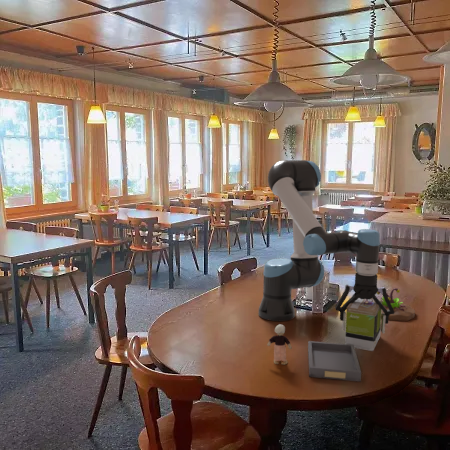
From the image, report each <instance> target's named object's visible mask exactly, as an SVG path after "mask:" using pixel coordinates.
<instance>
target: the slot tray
mask: <svg viewBox="0 0 450 450" xmlns="http://www.w3.org/2000/svg"><path fill="white" fill-rule="evenodd" d="M307 343H308V345H307V349H308V350H307V354H308V356H307V357H308V377H309V378H319V379H328V380H339V381H340V380H341V381H351V382H361V381H362V380H361V379H362V370H361V367H360V363H359V359H358V356H357V353H356V348H354V345H352V344H345V343H338V342H337V343H336V342H325V341H313V340H308V342H307Z"/></svg>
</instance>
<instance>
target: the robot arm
mask: <svg viewBox="0 0 450 450" xmlns="http://www.w3.org/2000/svg"><path fill="white" fill-rule="evenodd" d="M321 181H322V174H321V170H320V168H319V165H317V164H316V162H314V161H312V160H306V159H302V160H301V159H299V160H296V159H295V160H286V159H282V160H278V161H277V162H275V163H273V165H271V167H270V169H269V171H268V173H267V182H268V183H267V185H268V186H269V189H270V190H271V192H272V194H273V195H274V196H277V197H278V199H279V200H280V201H281V203H282V204H283V206H284V208H285V210H286V211H287V212H288V214H289V216H291V219H292V236H293V237H292V239H293V253H292V254H291V255H290V258H286V257H285V258H284V257H282V258H272V259H270V260H268V261H266V262H265V264H264V267H263V274H262V275H263V285H262V286H263V287H262V288H263V291H262V293H263V296H262V298H261V301H260V304H259V307H258V316H259V317H260V318H262V319H264V320H268V321H270V322H271V321H273V322H285V321H291V320H293V319H294V318H295V316H296V311H295V307H294V303H293V300H292V290H297V289H305V288H312V287H316V286H318V285H320V284H321V282H322V281H323V279H324V277H325V267H324V264H323V261H321V259H319V256H323V255H330V254H341V253H351V254H354V255H356V258H355V275H354V284H353V285H349V284H346V285H345V288H344V291H343V293H342V294H341V296H340V297H339V299H338V301H337V302H336V304H335V306H334V308H335V311H338V312H339V321H340V322H341V321H342V327H341V328H342V331H344V332H346V311H347V307H348V305H349V304H350V303H354V302H355V301H356V300H357V299H358V298H360V299H368V300H370V299H372V298H373V300H374V301H375V302H376V303H377V304H378V305H379V307H380V308H381V309H382V311H383V312H384V313H385V314H384V313H382V318H381V332H380V333H382V334H385V333H386V330H385V329H386V325H388V324H389V320H388V319H389V315H390V314H394V313H395V312H394V310H393V308H392V305H391V303H390V301H389V299H388V297H387V295H386V293H387V288H386V287H385V286H381V287H378V273H379V258H380V257H379V253H380V246H381V241H380V240H381V238H380V237H381V236H380V232H379V231H378V230H375V229H369V228H363V229H359V230H358V231H357V232H353V231H349V230H346V229H345V230H341V229H339V230H336V231H335V232H326V231H325V229H324V228H323V226H322V225H321V223H320V221H319V220H318V219H317V217H316V216H315V215H314V213H313V212H314V209H313V195H314V194H315V193H316V190H317V189H316V188H317V187H318V186H319V185H320V182H321ZM352 291H354V293H353V294H352V296H351V297H350V298H349V299H348V300H347V301H346V298H347V297H348V296H349V294H350V293H351V292H352ZM378 291H379V292H380V294H381V296H382V297H384V299H385V302H386V304H387V306H388V308H389V310H386V308H385V307H384V306H383V305H382V303H381V302H380V301H379V300H378V299H379V298H378V297H377V296H376V294H377V292H378ZM344 302H345V303H344Z"/></svg>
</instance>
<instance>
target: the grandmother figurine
mask: <svg viewBox="0 0 450 450" xmlns="http://www.w3.org/2000/svg"><path fill="white" fill-rule="evenodd" d="M285 331H286V327H285V325H283V324H280V323H279V324H278V325H276V326H275V328H274V333H276V335H273V336H271V337H270V338H269V339H268V343H267V344H266V346H267V347H271V345H272V344H274V346H273V363H274V365H279V364H281V365H283V366H284V365H287V364H288V360H287V349H286V347H288V349H289V350H291V349H292V347H293V346H292V345H291V341H290V340H289V339H288V337H287V336H285V335H284V334H285Z"/></svg>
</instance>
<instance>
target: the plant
mask: <svg viewBox="0 0 450 450" xmlns="http://www.w3.org/2000/svg"><path fill="white" fill-rule="evenodd" d="M394 291H396V293H400V292H401V290H400V289H399V288H393V289H392V290H391V291H390V294H388V293H387V292H386V295H387V297H388V299H389V301H390V303H391V305H392V308H393V310H394V312H395V313H394V314H390V315H389V319H388V321H401V322H409V321H410V320H413V319H414V318H415V315H416V310H415V308H413V307H412V306H411V305H409V304H406V303H404V302H403V301H401V302H400V300H401V299H400V298H399V297H395V298H394V297H393V293H394ZM376 294H377V295H378V296H379V295H380V294H381V293H380V292H379V291H378V292H377V293H376ZM380 299H382V305H383V306H384V307H385V308H386V310H389V308H388V306H387V304H386V302H385V299H384V297H383V296H382V298H380ZM382 313H384V312H383V311H382V309H381V319H382ZM384 314H385V313H384Z"/></svg>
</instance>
